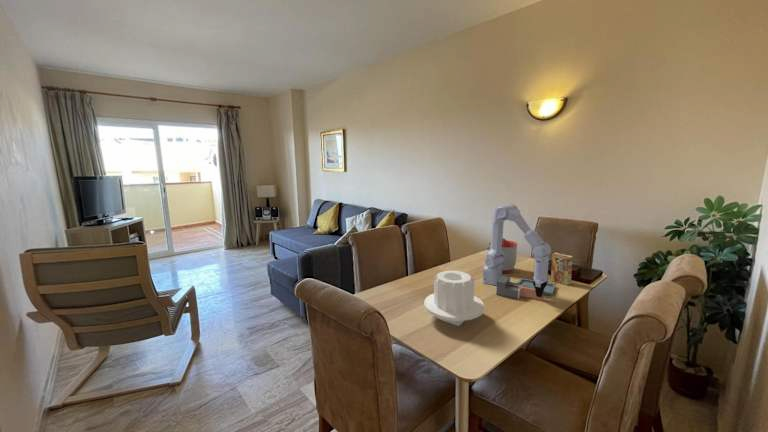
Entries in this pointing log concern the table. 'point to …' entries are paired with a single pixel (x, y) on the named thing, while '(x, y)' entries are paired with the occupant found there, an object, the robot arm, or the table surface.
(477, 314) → the ribbed cylinder on disc
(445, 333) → the table surface
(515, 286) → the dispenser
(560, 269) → the candy box
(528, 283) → the tray
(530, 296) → the long salmon pink stick
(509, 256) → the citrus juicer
